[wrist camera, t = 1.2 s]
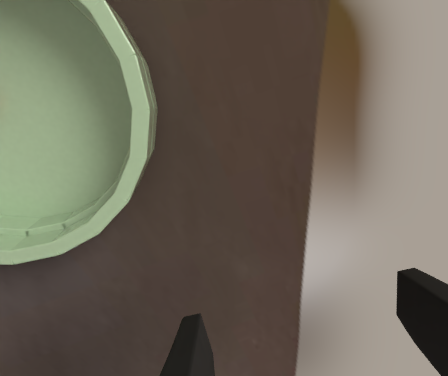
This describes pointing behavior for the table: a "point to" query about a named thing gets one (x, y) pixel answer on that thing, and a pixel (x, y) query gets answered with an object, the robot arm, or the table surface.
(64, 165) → the bowl
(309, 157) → the table surface
